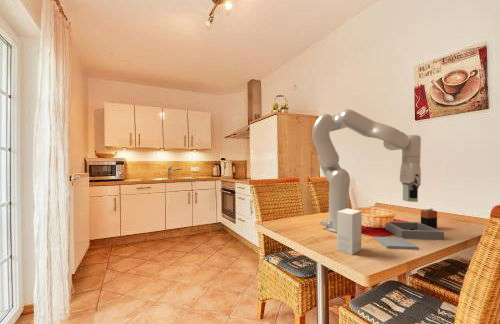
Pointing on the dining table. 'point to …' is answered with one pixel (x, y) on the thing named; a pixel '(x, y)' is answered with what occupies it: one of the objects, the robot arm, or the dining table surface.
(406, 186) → the green box
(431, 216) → the battery
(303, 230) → the dining table surface
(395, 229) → the grey square frame
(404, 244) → the mat
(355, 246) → the skincare box
